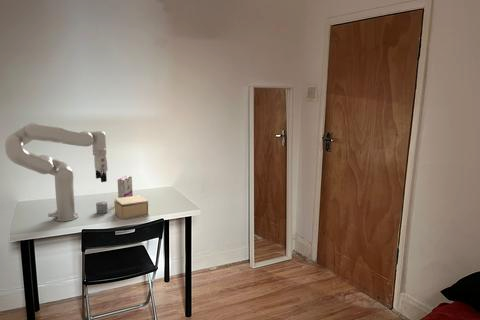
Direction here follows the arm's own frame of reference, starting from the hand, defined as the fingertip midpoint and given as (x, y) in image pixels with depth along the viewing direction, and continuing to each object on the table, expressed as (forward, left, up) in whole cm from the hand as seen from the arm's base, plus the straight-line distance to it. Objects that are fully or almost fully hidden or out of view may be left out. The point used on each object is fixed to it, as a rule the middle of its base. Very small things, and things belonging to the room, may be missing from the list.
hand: (101, 179), depth 224 cm
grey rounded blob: (0, 0, -21) cm, 21 cm away
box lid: (+14, -12, -12) cm, 22 cm away
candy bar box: (+20, +14, -21) cm, 32 cm away
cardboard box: (+14, -12, -21) cm, 28 cm away
